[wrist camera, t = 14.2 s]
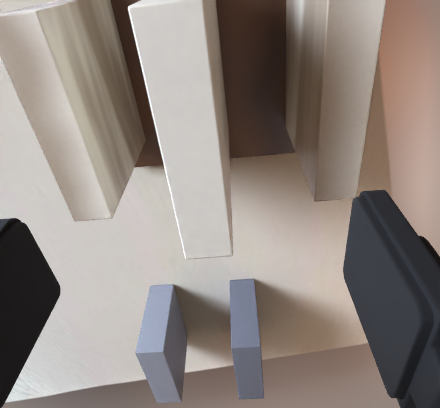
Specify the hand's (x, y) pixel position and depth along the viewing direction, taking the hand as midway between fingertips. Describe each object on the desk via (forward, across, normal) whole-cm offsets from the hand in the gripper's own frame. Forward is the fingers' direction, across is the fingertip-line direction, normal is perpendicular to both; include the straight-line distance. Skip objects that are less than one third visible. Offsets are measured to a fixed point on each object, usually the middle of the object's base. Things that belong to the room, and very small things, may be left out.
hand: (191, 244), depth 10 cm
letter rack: (+21, 0, -1) cm, 21 cm away
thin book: (+20, 0, -1) cm, 20 cm away
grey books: (+22, +4, +30) cm, 38 cm away
